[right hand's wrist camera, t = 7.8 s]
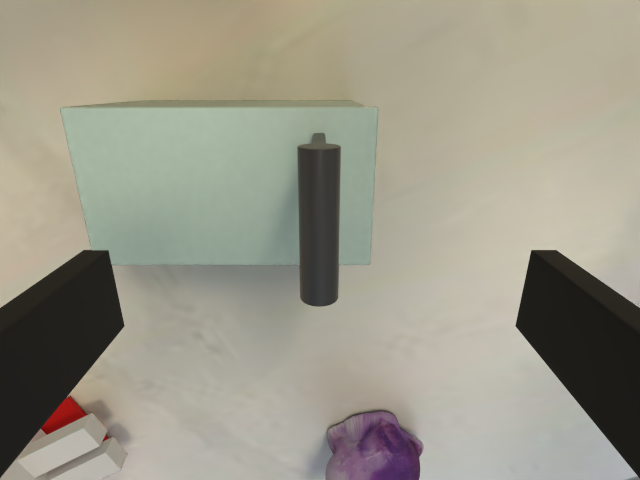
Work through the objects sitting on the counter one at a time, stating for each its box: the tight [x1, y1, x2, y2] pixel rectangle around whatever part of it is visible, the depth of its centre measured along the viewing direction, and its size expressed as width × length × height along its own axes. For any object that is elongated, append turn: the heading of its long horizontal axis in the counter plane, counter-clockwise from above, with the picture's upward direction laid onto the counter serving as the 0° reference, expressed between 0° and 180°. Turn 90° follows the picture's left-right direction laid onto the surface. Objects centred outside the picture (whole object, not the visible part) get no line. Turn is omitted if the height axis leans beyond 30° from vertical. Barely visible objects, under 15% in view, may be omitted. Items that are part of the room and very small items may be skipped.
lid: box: [60, 107, 378, 306], centre depth 21 cm, size 18×10×8 cm, turn 90°
